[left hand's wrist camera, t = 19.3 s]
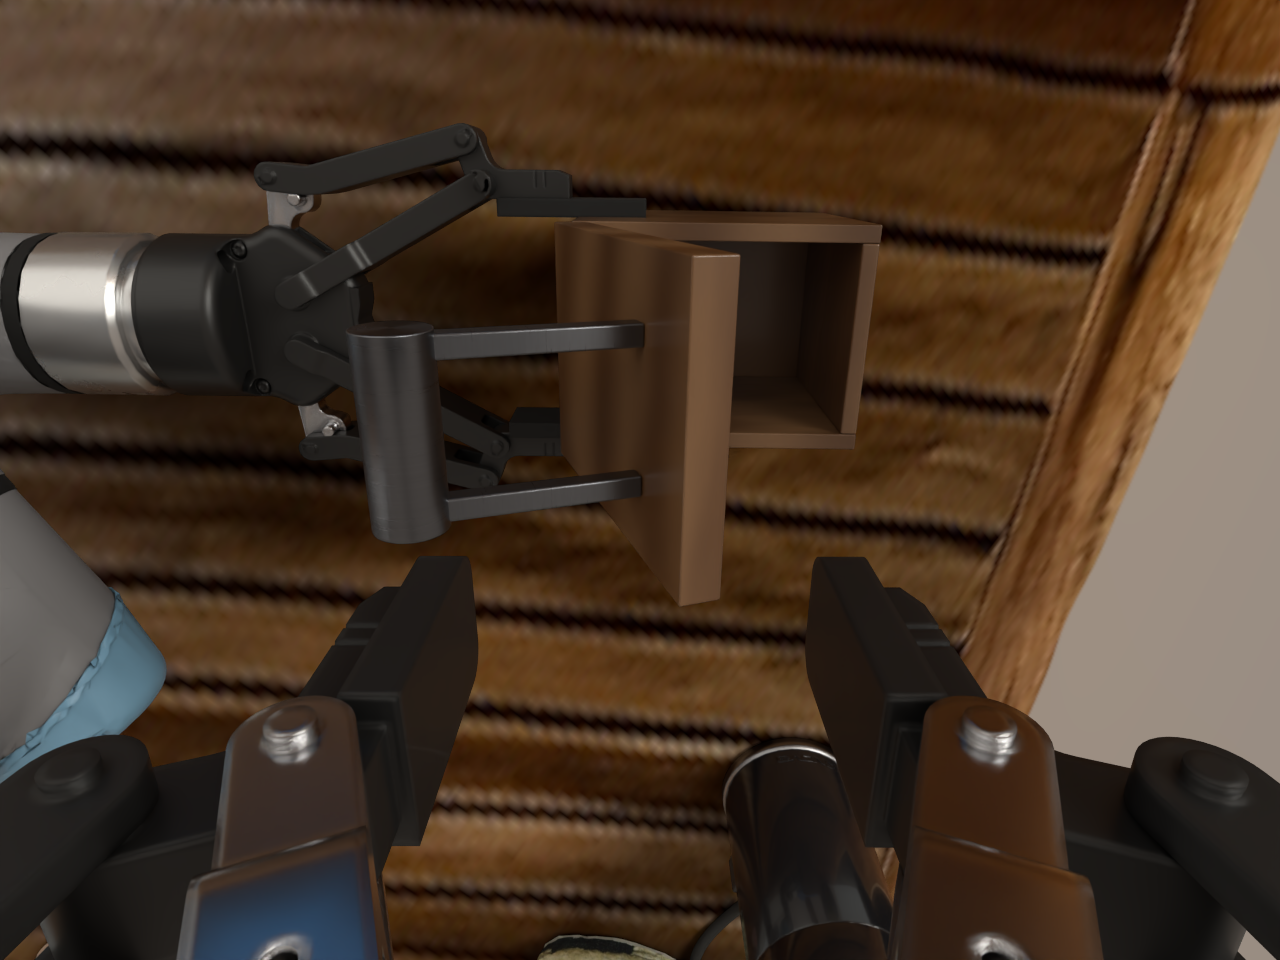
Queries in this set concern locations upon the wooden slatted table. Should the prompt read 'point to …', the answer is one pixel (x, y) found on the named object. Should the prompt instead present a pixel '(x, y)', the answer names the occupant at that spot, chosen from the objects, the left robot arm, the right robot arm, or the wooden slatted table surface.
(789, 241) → the chest
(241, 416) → the wooden slatted table surface
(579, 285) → the lid
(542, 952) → the fossil
